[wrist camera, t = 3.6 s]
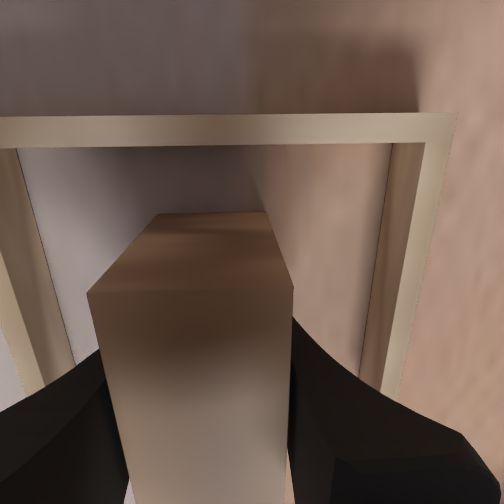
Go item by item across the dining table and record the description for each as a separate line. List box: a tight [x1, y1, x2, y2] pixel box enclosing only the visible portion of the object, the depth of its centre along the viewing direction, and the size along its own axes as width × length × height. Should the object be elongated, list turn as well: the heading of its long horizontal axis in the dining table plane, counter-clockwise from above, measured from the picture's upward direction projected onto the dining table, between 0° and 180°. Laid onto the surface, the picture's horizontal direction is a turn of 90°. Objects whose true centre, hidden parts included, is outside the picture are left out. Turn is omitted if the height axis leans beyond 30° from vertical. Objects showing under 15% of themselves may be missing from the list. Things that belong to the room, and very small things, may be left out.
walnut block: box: [86, 212, 294, 504], centre depth 10 cm, size 4×8×6 cm, turn 1°
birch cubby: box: [0, 112, 458, 402], centre depth 12 cm, size 15×12×2 cm
